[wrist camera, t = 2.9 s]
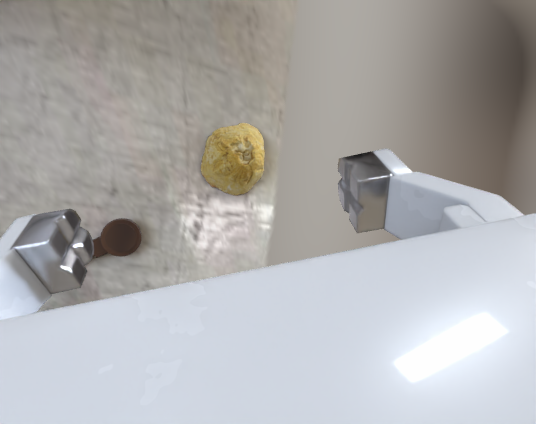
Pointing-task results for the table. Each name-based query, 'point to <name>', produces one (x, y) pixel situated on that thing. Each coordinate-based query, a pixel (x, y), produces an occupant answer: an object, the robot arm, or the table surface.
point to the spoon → (118, 238)
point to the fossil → (234, 158)
